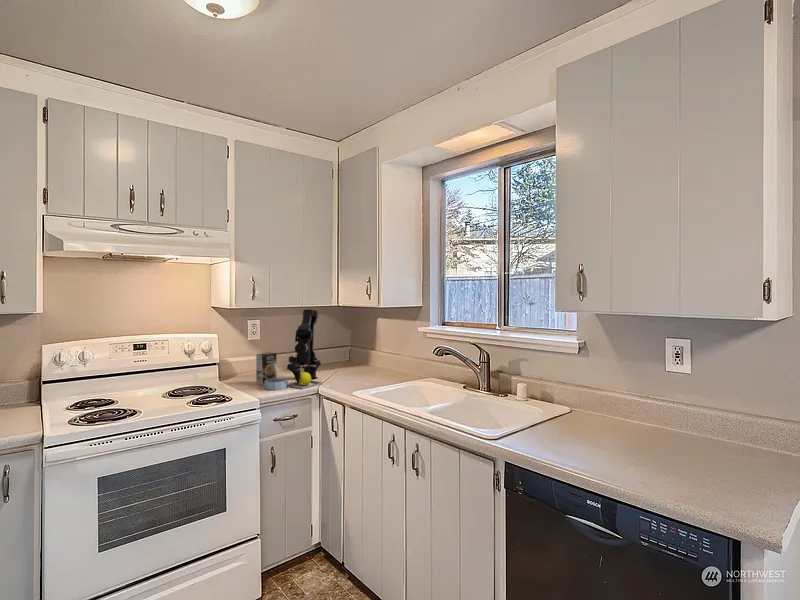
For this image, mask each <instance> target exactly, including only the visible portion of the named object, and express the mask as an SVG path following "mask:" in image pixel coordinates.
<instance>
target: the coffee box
mask: <svg viewBox="0 0 800 600" xmlns="http://www.w3.org/2000/svg"><path fill="white" fill-rule="evenodd" d="M277 354H278V353H276V352H265V353H257V354H255V355H256V356H255V357H256V359H255V361H256V363H255V364H256V366H255V367H256V369H255V371H256V372H255V374H256V376H255V377H256V380H255V382H256V384H257V385H260V386H265V380H267V379H274V378H278V377H277V376H278V370H277V367H278V366H277V364H278V362H277V357H278V356H277Z"/></svg>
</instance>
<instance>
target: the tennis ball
mask: <svg viewBox="0 0 800 600" xmlns="http://www.w3.org/2000/svg"><path fill="white" fill-rule="evenodd" d="M310 382H311V375H310V374H309V373H307V372H304V371H303V372H300V379H299V384H298V385H299V386H302V387H304V386H308V385H310V384H311V383H310Z"/></svg>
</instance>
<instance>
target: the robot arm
mask: <svg viewBox="0 0 800 600" xmlns="http://www.w3.org/2000/svg"><path fill="white" fill-rule="evenodd" d="M318 319H319V311H317V310H316V309H315V310H314V309H312V308H311V309H310V308H306V309H303V310H302V321H301V324H300V325H298V326H297V329H296V330H295V338H294V342H295V343H297V344H296V345H294V351H295V353H296V356H293V355H292V356H288V362H289V363H288V364H287V365H286V370H289V372H292V374H293V376H294V379H295V382H297V383H299V379H300V373H301V369H303V372H307V373H309V374H310V375H311V380H312V381H313V380H315V379H319V377H318V376H317V370H318V369H319V368H320V366H321V364H322V363H321V360H320V359H318V358H317V354H316V353H315V350H314V348H315V347H314V345H315V325H316V324H317V322H318Z"/></svg>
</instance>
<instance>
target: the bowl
mask: <svg viewBox="0 0 800 600" xmlns="http://www.w3.org/2000/svg"><path fill="white" fill-rule="evenodd" d="M287 384H288V379H287V378H281V377H277V378H274V379H267V380H265V385H264V389H265V391H281V390H282V389H283V390H286V389H287V388H288V387H287Z"/></svg>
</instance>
